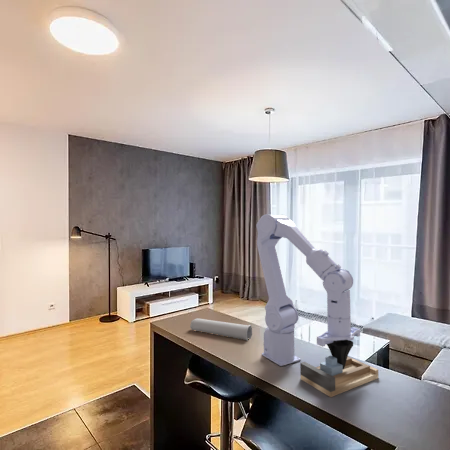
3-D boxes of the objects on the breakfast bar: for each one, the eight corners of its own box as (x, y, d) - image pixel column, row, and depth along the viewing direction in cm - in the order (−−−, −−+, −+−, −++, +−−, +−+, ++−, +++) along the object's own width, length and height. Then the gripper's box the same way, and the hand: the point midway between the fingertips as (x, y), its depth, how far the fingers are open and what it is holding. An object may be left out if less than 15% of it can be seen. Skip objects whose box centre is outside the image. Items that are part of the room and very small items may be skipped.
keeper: (320, 375, 79) (320, 356, 79) (331, 371, 81) (330, 353, 81) (331, 381, 75) (331, 362, 75) (342, 377, 77) (342, 358, 77)
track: (300, 379, 79) (300, 363, 80) (346, 363, 88) (346, 349, 88) (330, 397, 71) (330, 379, 71) (378, 378, 80) (378, 362, 80)
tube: (186, 322, 117) (245, 331, 105) (193, 314, 122) (251, 322, 110) (189, 334, 118) (247, 344, 107) (196, 326, 123) (253, 334, 111)
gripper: (331, 324, 73) (332, 381, 73) (369, 315, 80) (370, 367, 80) (310, 317, 79) (311, 369, 79) (347, 309, 86) (348, 357, 86)
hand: (339, 367), depth 80 cm, fingers closed
